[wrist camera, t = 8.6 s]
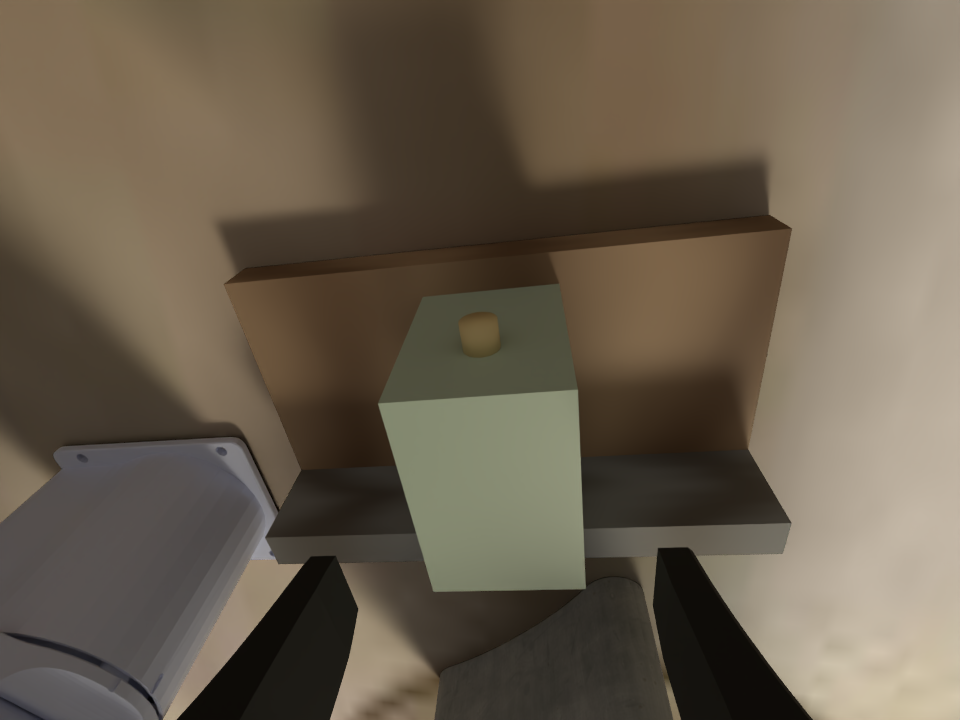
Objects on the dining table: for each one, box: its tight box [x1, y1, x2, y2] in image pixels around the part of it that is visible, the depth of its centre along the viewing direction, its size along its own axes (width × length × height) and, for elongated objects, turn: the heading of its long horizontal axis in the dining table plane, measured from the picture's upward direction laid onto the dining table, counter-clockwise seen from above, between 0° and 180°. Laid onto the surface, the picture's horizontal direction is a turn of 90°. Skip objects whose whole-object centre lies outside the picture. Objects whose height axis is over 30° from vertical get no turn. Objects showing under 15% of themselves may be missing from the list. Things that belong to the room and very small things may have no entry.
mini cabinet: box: [378, 284, 586, 592], centre depth 15 cm, size 4×8×6 cm, turn 8°
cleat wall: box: [224, 215, 792, 564], centre depth 17 cm, size 18×10×5 cm, turn 97°
